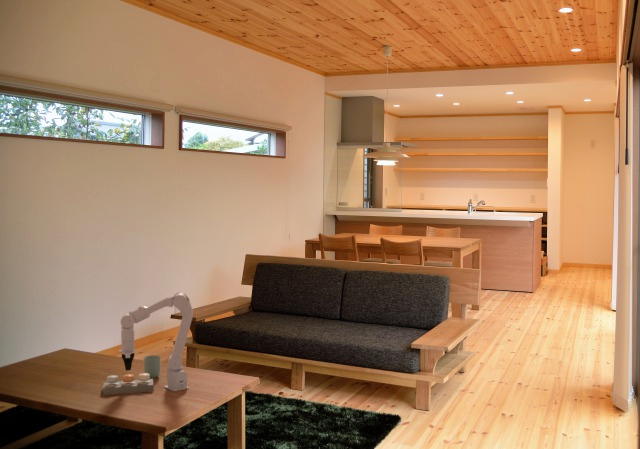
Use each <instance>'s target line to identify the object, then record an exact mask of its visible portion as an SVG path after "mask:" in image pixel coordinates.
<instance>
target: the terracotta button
mask: <svg viewBox="0 0 640 449" xmlns="http://www.w3.org/2000/svg"><path fill="white" fill-rule="evenodd" d="M134 376H135V374H132V373H129V374H123V375H122V381H123V382H133V381H134V380H135V377H134Z"/></svg>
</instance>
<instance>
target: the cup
mask: <svg viewBox="0 0 640 449" xmlns="http://www.w3.org/2000/svg"><path fill="white" fill-rule="evenodd" d="M161 360H162V358H161V356H160V355H153V354H152V355H147V356H146V355H145V356H144V358H143V369H144V370H143V372H144V373H148V374H150V379H157V378H159V376H160V375H161V369H162V368H161V367H162V366H161V364H162V363H161V362H162V361H161Z"/></svg>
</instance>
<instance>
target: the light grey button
mask: <svg viewBox="0 0 640 449" xmlns="http://www.w3.org/2000/svg"><path fill="white" fill-rule="evenodd" d="M118 381H119V375H114V374H112V375H108V376H107V377H106V382H107V383H110V384H112V383H117V382H118Z"/></svg>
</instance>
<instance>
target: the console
mask: <svg viewBox="0 0 640 449" xmlns="http://www.w3.org/2000/svg"><path fill="white" fill-rule="evenodd" d="M148 392H149V393H150V392H154V378H150V380H148V381H139V379H134V381H133V382H123V380H118V382H117V383H112V384H110V383H107V381H103V386H102V395H103V396H107V395H109V396H110V395H120V394H136V393H148Z"/></svg>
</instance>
